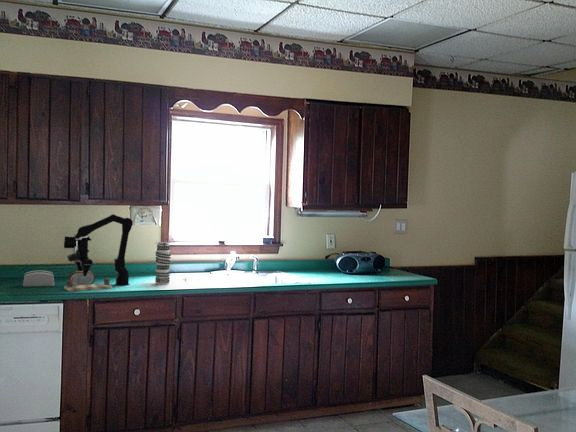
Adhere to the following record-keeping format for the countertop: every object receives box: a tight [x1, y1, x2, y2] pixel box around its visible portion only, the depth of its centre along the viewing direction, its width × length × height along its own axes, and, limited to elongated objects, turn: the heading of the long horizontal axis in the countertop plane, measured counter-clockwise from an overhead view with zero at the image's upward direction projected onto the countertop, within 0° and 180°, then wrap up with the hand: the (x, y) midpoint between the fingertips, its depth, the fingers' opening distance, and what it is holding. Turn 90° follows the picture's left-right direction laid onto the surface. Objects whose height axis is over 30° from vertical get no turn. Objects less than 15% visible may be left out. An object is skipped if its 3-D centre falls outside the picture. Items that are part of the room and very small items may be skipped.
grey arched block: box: [22, 269, 55, 287], centre depth 355 cm, size 17×5×10 cm, turn 111°
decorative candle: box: [154, 241, 172, 286], centre depth 377 cm, size 9×9×25 cm
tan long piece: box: [63, 277, 113, 292], centre depth 351 cm, size 24×9×5 cm, turn 125°
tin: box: [67, 270, 96, 286], centre depth 361 cm, size 15×3×8 cm, turn 127°
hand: (82, 275), depth 361 cm, fingers open, 9 cm apart
